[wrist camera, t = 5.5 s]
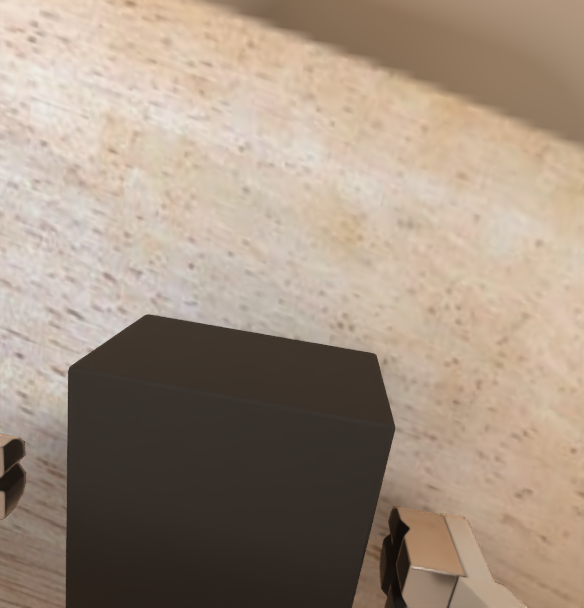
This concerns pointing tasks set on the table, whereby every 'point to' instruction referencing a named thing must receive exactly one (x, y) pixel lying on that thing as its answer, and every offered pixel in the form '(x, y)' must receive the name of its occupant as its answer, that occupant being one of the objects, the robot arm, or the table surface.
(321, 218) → the table surface
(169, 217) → the table surface
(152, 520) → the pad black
